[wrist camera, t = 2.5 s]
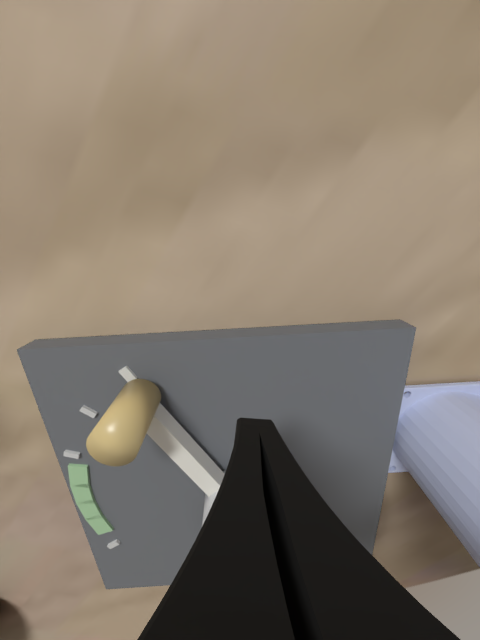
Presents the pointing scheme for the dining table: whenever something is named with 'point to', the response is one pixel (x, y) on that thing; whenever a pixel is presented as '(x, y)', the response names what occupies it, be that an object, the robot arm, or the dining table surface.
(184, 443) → the dial pointer
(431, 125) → the dining table surface
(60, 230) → the dining table surface
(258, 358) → the dial board
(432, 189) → the dining table surface
